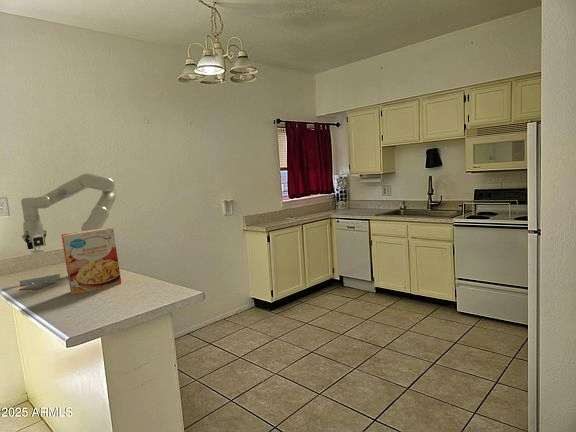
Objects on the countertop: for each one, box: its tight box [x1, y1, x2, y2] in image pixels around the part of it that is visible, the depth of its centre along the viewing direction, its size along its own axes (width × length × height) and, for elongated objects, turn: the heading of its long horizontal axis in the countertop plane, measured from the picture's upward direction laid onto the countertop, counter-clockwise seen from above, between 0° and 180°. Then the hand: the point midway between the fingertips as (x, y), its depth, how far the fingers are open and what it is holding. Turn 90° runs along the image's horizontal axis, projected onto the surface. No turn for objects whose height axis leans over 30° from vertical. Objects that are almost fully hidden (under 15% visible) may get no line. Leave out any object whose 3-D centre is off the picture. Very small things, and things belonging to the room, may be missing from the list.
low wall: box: [19, 273, 61, 287], centre depth 225 cm, size 20×1×3 cm, turn 114°
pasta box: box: [61, 226, 122, 296], centre depth 200 cm, size 23×8×30 cm, turn 127°
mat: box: [18, 281, 56, 291], centre depth 216 cm, size 12×12×1 cm
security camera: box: [30, 235, 46, 255], centre depth 229 cm, size 6×7×10 cm
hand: (37, 247), depth 229 cm, fingers closed on security camera, 8 cm apart
